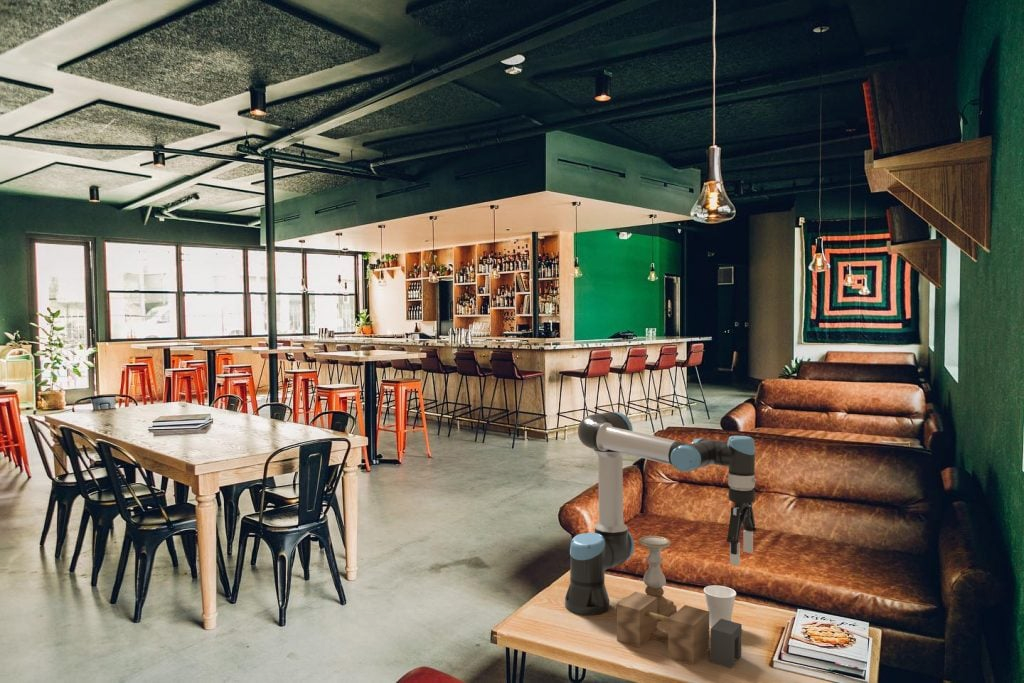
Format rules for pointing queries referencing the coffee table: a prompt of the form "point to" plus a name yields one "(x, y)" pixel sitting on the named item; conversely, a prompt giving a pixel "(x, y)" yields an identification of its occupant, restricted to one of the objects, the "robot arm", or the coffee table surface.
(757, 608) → the coffee table surface
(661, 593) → the candle holder
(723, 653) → the slotted gray cube
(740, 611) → the coffee table surface
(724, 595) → the cup
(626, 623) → the wooden block dumbbell
